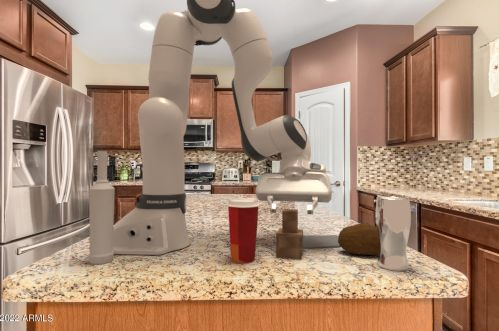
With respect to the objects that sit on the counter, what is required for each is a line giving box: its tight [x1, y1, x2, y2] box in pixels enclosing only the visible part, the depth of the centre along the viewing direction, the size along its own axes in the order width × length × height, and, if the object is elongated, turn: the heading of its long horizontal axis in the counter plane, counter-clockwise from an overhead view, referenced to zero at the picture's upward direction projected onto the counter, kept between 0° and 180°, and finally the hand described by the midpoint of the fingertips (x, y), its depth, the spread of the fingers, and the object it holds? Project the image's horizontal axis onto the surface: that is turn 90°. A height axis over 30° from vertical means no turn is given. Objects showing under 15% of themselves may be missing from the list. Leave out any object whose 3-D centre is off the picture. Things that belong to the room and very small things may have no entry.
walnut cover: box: [275, 208, 304, 260], centre depth 72 cm, size 6×6×11 cm
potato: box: [337, 222, 380, 256], centre depth 73 cm, size 8×12×8 cm, turn 84°
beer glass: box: [375, 195, 412, 272], centre depth 64 cm, size 7×7×15 cm
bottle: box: [88, 150, 116, 265], centre depth 66 cm, size 5×5×25 cm
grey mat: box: [303, 234, 342, 250], centre depth 85 cm, size 16×12×1 cm
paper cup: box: [226, 197, 261, 264], centre depth 68 cm, size 8×8×14 cm
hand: (291, 212), depth 74 cm, fingers open, 8 cm apart
